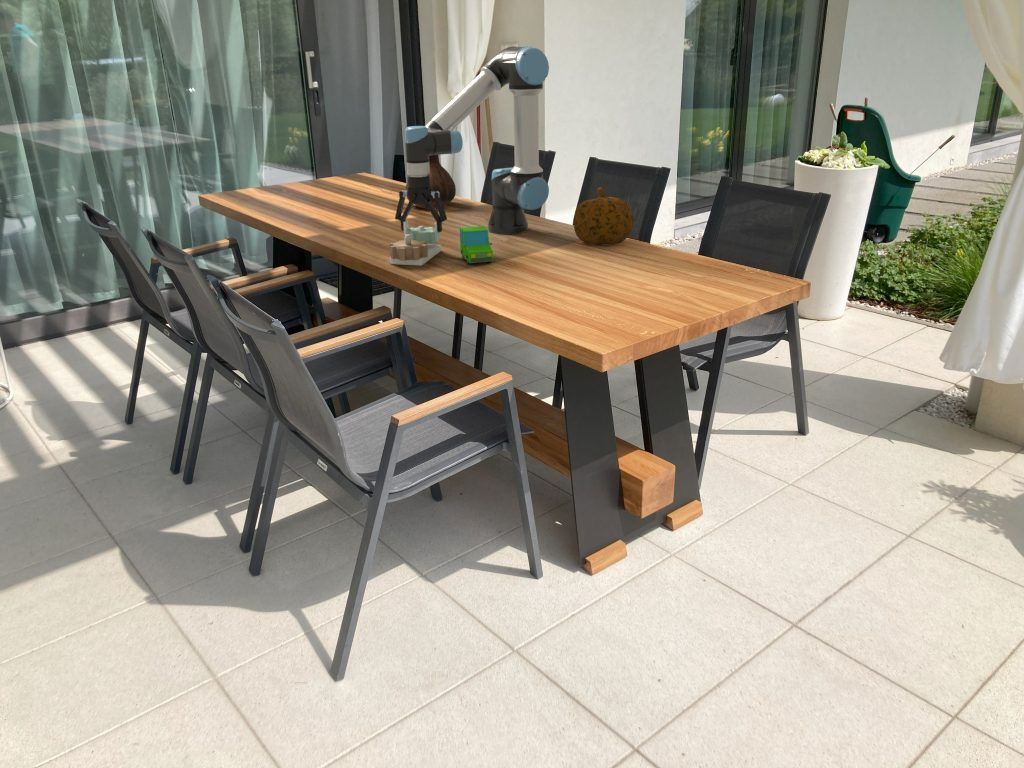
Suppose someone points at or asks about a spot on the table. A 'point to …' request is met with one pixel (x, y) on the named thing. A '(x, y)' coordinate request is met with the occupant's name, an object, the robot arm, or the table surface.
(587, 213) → the decorative pumpkin
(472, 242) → the toy car
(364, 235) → the table surface
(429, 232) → the loose gear
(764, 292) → the table surface
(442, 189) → the brown wooden bulbous vase
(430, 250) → the gear board
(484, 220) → the table surface
